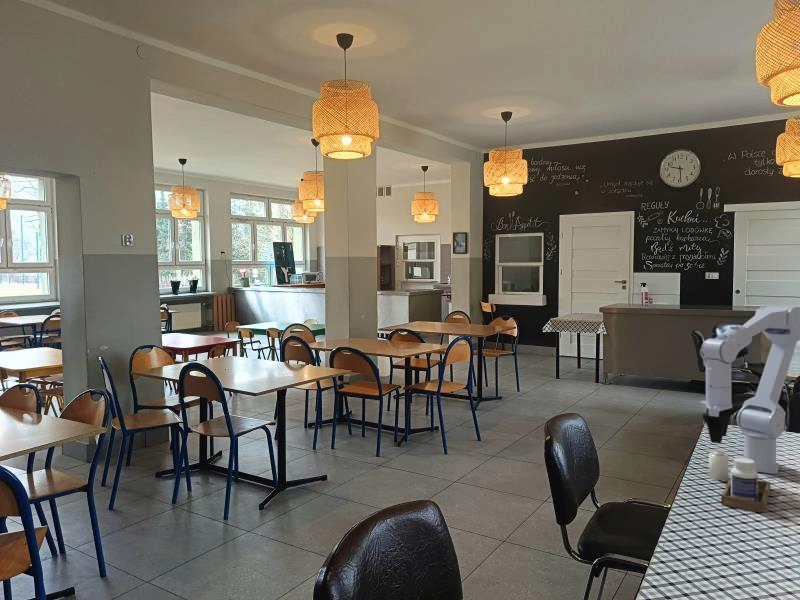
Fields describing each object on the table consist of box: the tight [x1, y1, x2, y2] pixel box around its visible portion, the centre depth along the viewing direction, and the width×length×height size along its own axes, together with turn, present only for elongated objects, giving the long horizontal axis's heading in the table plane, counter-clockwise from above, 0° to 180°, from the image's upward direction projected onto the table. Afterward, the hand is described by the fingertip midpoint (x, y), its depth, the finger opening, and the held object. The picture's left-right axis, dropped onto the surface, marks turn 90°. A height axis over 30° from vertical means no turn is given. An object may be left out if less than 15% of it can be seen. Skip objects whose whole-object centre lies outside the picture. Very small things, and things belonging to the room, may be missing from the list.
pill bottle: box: [730, 457, 759, 502], centre depth 133 cm, size 5×5×10 cm
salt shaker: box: [708, 451, 730, 481], centre depth 149 cm, size 4×4×7 cm
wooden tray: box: [720, 477, 771, 513], centre depth 136 cm, size 16×8×2 cm, turn 143°
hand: (718, 439), depth 149 cm, fingers open, 7 cm apart
